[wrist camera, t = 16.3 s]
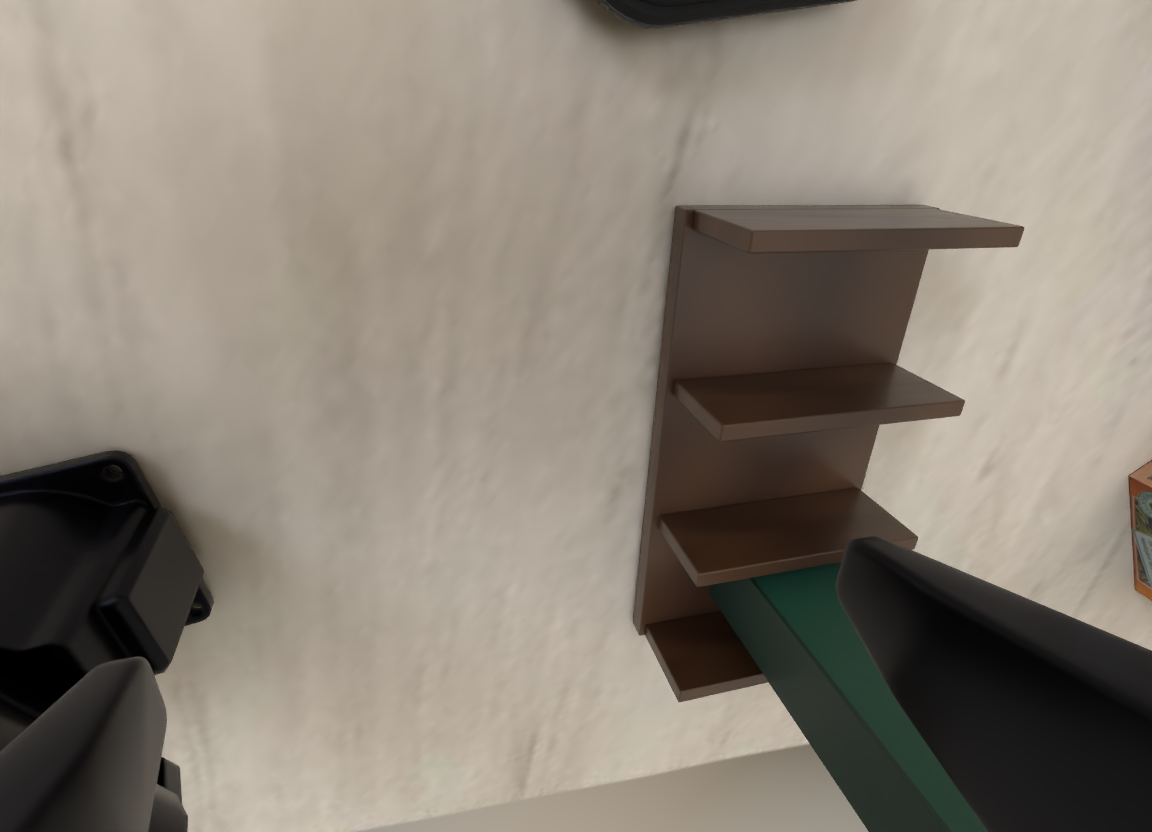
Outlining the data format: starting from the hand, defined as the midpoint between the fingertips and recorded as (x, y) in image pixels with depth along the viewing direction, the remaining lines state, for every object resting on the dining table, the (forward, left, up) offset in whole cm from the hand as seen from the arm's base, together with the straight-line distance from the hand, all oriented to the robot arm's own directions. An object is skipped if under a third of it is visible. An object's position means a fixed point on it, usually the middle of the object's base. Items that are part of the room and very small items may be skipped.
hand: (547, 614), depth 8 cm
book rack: (+11, -8, -13) cm, 18 cm away
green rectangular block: (+11, -13, -12) cm, 21 cm away
